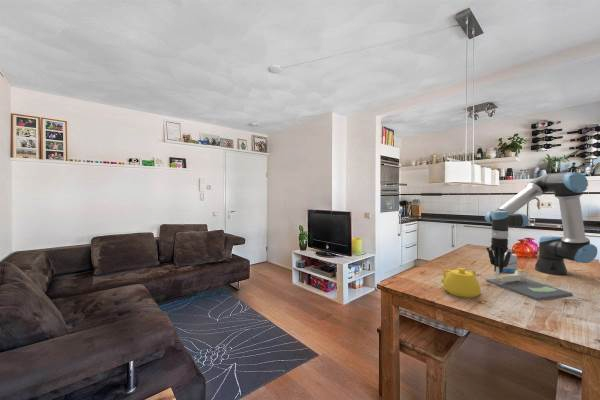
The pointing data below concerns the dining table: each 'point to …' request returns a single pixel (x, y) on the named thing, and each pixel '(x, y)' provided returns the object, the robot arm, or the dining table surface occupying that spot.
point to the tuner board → (531, 289)
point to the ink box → (511, 264)
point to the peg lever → (513, 276)
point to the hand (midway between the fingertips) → (498, 277)
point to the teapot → (461, 283)
